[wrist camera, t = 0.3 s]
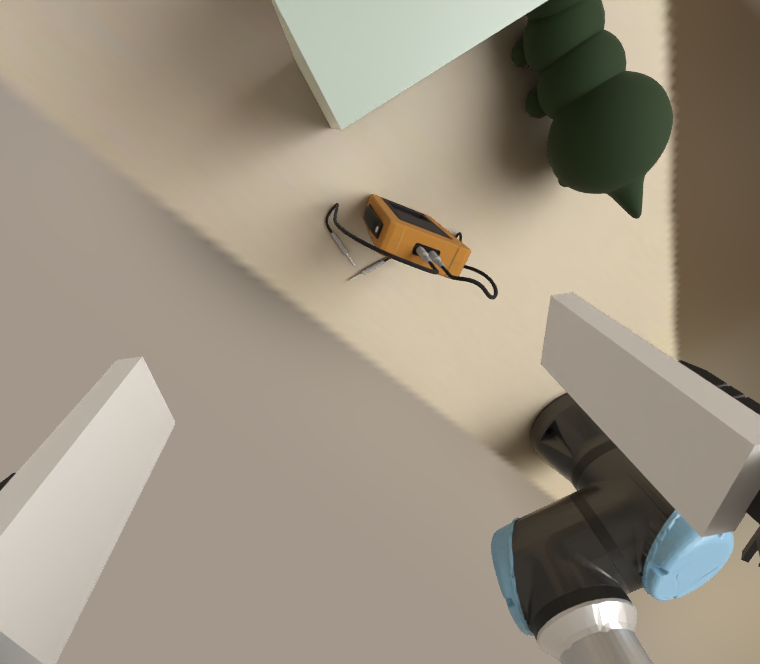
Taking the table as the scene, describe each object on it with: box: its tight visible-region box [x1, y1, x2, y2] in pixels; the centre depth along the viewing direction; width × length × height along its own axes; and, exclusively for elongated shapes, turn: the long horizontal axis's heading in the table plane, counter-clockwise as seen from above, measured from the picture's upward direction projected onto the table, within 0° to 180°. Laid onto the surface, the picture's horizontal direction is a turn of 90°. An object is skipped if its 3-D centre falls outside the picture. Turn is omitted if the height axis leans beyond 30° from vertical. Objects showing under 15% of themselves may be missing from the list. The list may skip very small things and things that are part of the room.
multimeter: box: [326, 194, 498, 299], centre depth 33 cm, size 15×10×20 cm
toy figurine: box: [512, 0, 673, 219], centre depth 28 cm, size 9×19×25 cm
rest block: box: [271, 0, 548, 130], centre depth 24 cm, size 6×13×21 cm, turn 118°
